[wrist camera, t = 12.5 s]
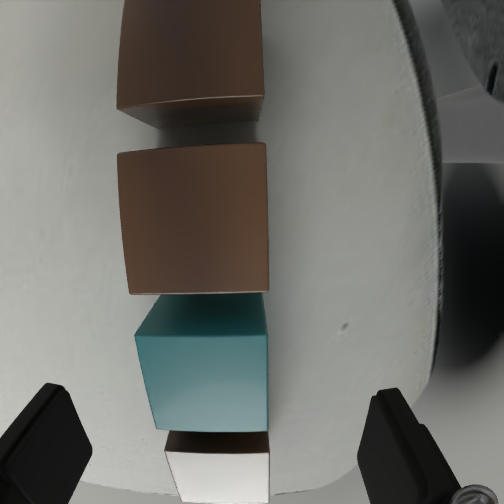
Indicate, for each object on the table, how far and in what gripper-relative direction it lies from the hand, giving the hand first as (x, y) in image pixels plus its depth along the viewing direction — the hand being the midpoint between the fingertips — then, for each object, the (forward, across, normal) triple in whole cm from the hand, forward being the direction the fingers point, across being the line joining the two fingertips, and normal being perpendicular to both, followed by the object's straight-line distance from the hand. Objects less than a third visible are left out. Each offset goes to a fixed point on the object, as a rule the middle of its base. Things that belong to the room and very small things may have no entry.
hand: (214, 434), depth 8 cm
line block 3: (+7, +1, +6) cm, 10 cm away
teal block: (+7, +1, 0) cm, 7 cm away
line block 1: (+7, +1, -12) cm, 14 cm away
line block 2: (+7, +1, -6) cm, 9 cm away
